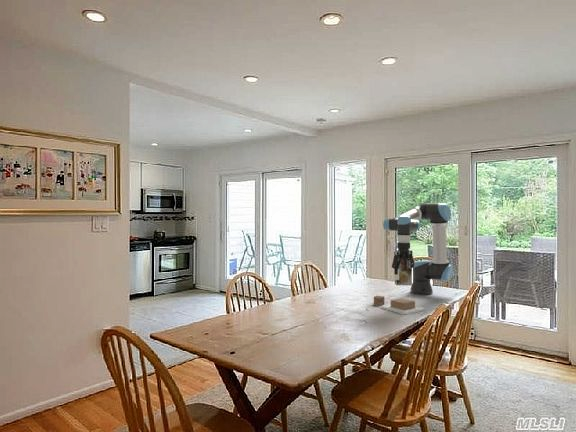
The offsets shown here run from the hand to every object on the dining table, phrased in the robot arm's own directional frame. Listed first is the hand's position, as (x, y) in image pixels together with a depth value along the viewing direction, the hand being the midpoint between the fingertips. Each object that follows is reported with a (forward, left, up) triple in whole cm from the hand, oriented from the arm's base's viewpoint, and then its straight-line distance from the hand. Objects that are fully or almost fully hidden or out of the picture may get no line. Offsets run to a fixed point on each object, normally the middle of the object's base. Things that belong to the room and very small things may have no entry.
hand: (403, 279), depth 236 cm
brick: (+3, -16, -18) cm, 24 cm away
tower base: (0, 0, -18) cm, 18 cm away
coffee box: (0, 0, -4) cm, 4 cm away
